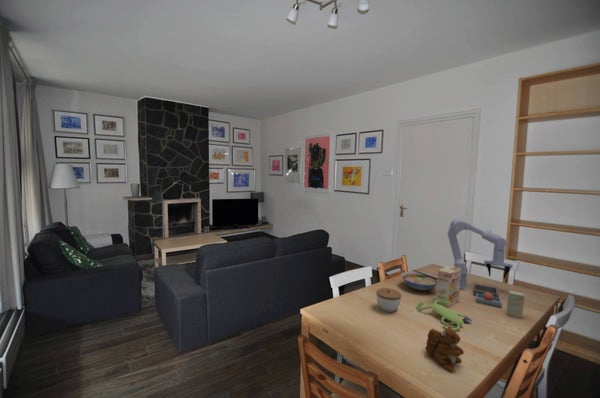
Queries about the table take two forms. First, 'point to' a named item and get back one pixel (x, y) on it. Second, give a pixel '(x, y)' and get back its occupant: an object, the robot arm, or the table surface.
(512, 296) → the skincare box
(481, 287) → the grey square frame
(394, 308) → the lidded bowl
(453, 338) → the stuffed squirrel
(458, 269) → the coffeecake box
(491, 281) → the table surface
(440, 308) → the figurine
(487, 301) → the tray
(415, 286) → the ramen bowl
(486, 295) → the ball
